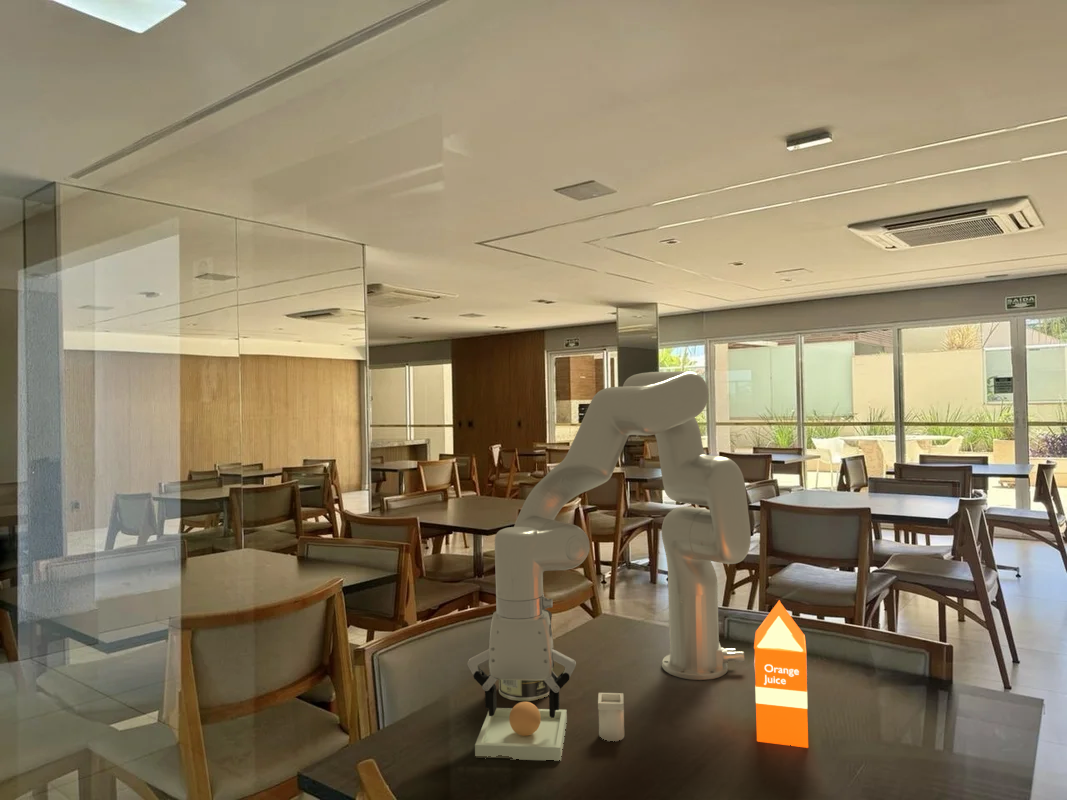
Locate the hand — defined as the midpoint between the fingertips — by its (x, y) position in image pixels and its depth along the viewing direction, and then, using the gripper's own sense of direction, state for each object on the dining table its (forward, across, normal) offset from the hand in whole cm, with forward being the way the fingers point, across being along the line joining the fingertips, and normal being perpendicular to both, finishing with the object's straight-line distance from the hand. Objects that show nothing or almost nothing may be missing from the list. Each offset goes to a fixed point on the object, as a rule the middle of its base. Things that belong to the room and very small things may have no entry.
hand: (522, 713), depth 115 cm
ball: (+1, 0, 0) cm, 1 cm away
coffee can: (+4, +2, -19) cm, 20 cm away
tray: (+4, 0, 0) cm, 4 cm away
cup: (+4, -14, -2) cm, 15 cm away
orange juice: (+4, -41, -5) cm, 42 cm away
